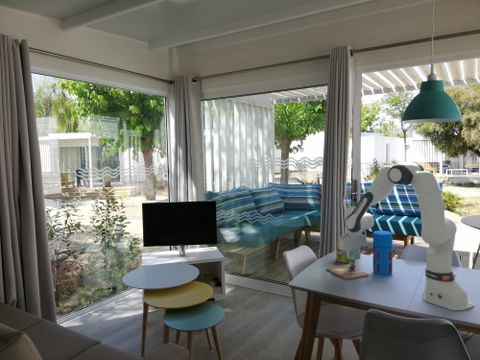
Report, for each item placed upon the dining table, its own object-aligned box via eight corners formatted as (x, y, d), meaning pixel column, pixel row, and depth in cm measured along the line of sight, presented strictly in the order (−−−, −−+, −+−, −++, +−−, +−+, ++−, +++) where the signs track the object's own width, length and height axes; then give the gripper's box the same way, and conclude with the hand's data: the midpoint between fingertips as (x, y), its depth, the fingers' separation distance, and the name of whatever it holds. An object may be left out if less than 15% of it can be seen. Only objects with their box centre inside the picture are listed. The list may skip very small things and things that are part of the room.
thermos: (389, 270, 228) (389, 230, 227) (394, 276, 218) (394, 234, 216) (371, 270, 230) (370, 230, 228) (375, 276, 219) (375, 234, 217)
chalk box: (335, 261, 252) (335, 239, 251) (343, 258, 258) (343, 237, 257) (348, 263, 245) (348, 241, 244) (355, 260, 251) (355, 239, 250)
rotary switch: (353, 260, 223) (353, 250, 223) (346, 258, 228) (346, 248, 228) (360, 258, 226) (360, 249, 226) (353, 256, 231) (353, 247, 231)
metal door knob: (358, 270, 227) (358, 259, 226) (351, 271, 225) (351, 260, 225) (353, 268, 232) (353, 257, 231) (346, 269, 230) (346, 258, 229)
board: (368, 276, 220) (368, 273, 220) (344, 280, 215) (344, 277, 215) (348, 266, 239) (348, 264, 239) (325, 270, 233) (325, 267, 233)
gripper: (343, 235, 219) (344, 259, 220) (368, 231, 229) (368, 253, 230) (336, 234, 224) (336, 256, 225) (360, 229, 234) (360, 251, 235)
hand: (353, 255), depth 227 cm, fingers closed on rotary switch, 6 cm apart
